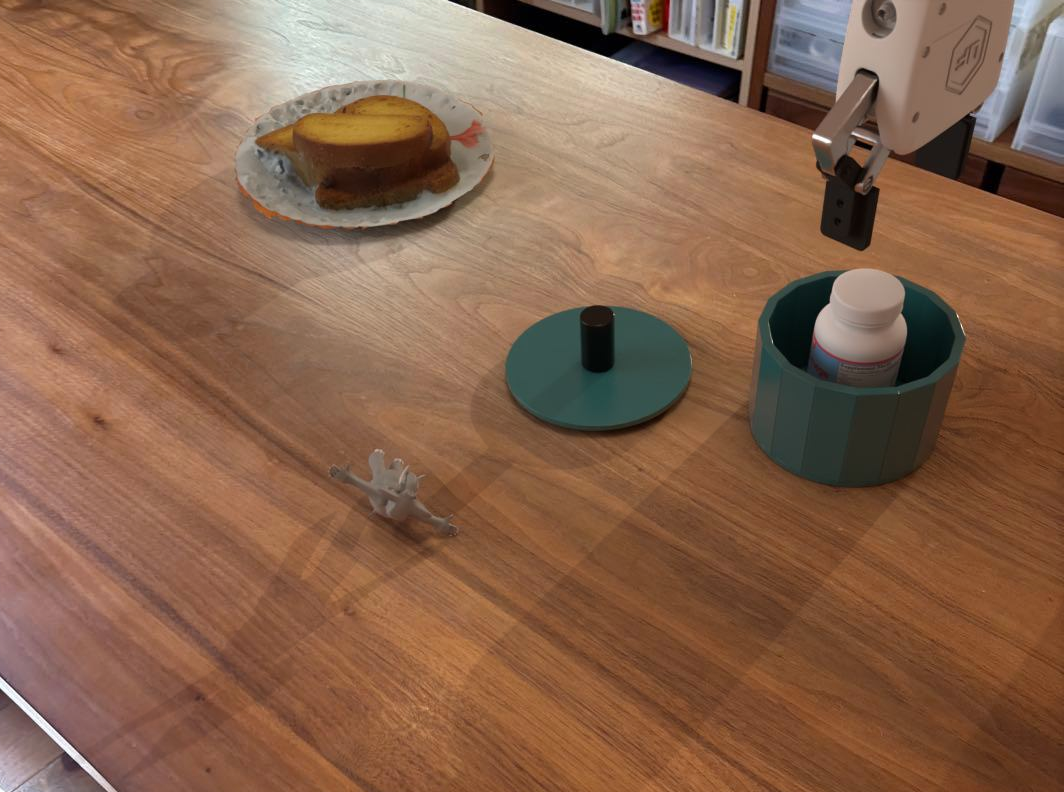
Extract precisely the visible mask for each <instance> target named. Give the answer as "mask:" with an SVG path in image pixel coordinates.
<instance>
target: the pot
mask: <svg viewBox="0 0 1064 792" xmlns="http://www.w3.org/2000/svg"><path fill="white" fill-rule="evenodd" d="M851 270H852V269H840V270H839V269H838V270H837V269H836V270H824V271H820V272H817V273H815V274H814V273H813V274H811V275H808V276H804V277H801V278H798V279H794V280H792V281H791V282H789V283H788V284H786V285H785V286H783V287H782V288H781V289H779V290H778V291H776V292H775V293H773V294H772V295H771V296H769V298H768V299H767V301H766V302H765V305H764V307H763V309H762V311H761V313H760V315H759V318H758V320H757V325H756V326H757V327H756V334H755V335H756V336H755V344H754V352H753V353H754V354H753V359H752V370H751V379H750V386H749V387H750V388H749V395H748V396H749V397H748V406H747V409H748V421H749V422H748V423H749V428H750V431H751V434H752V436H753V438H754V440H755V442H756V443H757V445H758V447H759V448H760V449H761V450H762V452H763V453H764V454H765V455H766V456H767V457H768V458H769V459H770V460H772V461H773V462H774V463H775V464H777V465H778V466H780V467H781V468H783V469H784V470H786V471H788V472H789V473H792V474H794V475H796V476H799V477H800V478H803V479H806V480H808V481H812V482H815V483H818V484H823V485H827V486H828V485H829V486H835V487H842V488H843V487H844V488H861V487H872V486H879V485H884V484H887V483H891V482H894V481H896V480H899V479H901V478H904V477H905V476H908V475H910V474H911V473H913V472H914V471H916V470H918V468H920V467H921V466H922V465H923V464H924V463H925V462H926V461H927V460H928V459H929V457H930V455H932V453H933V451H934V450H935V448H936V444H937V441H938V437H939V435H940V434H939V433H940V430H941V427H942V423H943V421H944V417H945V414H946V411H947V406H948V403H949V400H950V396H951V393H952V389H953V386H954V383H955V380H956V377H957V372H958V369H959V365H960V362H961V358H962V355H963V352H964V348H965V344H966V341H967V336H966V333H965V330H964V327H963V325H962V321H961V320H960V317H959V315H958V313H957V311H956V310H955V309H954V308H953V307H952V306H950V305H949V304H948V303H947V302H946V301H945V300H944V299H943V298H942V297H941V296H939V294H937V293H936V292H935V291H933V290H932V289H929V288H927V287H926V286H925V287H924V286H922V285H921V284H918V283H916V282H913V281H911V280H909V279H907V278H906V277H903V276H899V275H893V274H891V275H892V276H894V277H895V278H897V279H898V280H899V281H900V282H901V284H902V285H903V287H904V290H905V297H904V302H903V309H902V312H901V314H902V316H903V317H904V319H905V322H906V326H907V336H906V342H905V346H904V350H903V354H902V358H901V362H900V366H899V370H898V374H897V379H896V383H895V387H881V388H855V387H850V386H845V385H841V384H836V383H832V382H827V381H823V380H820V379H818V378H816V377H814V376H812V375H810V374H808V373H807V368H808V362H809V356H810V350H811V344H812V338H813V333H814V327H815V323H816V320H817V317H818V315H819V313H820V312H821V311H822V309H823V308H824V307H825V306H827V305H828V304H829V303H830V296H831V293H832V288H833V284H834V282H835V280H836V279H837V278H838V277H839V276H840V275H841V274H843V273H845V272H848V271H851Z"/></svg>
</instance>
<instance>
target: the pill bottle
mask: <svg viewBox="0 0 1064 792" xmlns="http://www.w3.org/2000/svg"><path fill="white" fill-rule="evenodd" d="M850 270H851V271H848V272H845V273H843V274H841V275H840V276H839V277H838V278H837V279H836V280H835V282H834V284H833V288H832V293H831V296H830V303H829V304H828V305H827V306H825V307H824V308H823V309H822V311H821V312H820V313H819V315H818V317H817V320H816V323H815V327H814V333H813V338H812V344H811V350H810V356H809V362H808V368H807V373H808V374H810V375H812V376H814V377H816V378H818V379H820V380H823V381H827V382H832V383H836V384H841V385H845V386H850V387H855V388H881V387H895V383H896V379H897V374H898V370H899V366H900V362H901V358H902V354H903V350H904V346H905V342H906V336H907V326H906V322H905V319H904V317H903V316H902V314H901V312H902V309H903V302H904V297H905V290H904V287H903V285H902V284H901V282H900V281H899V280H898V279H897V278H895V277H894V276H892V275H893V274H891V273H888V272H886V271H883V270H880V269H876V268H856V269H850Z"/></svg>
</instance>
